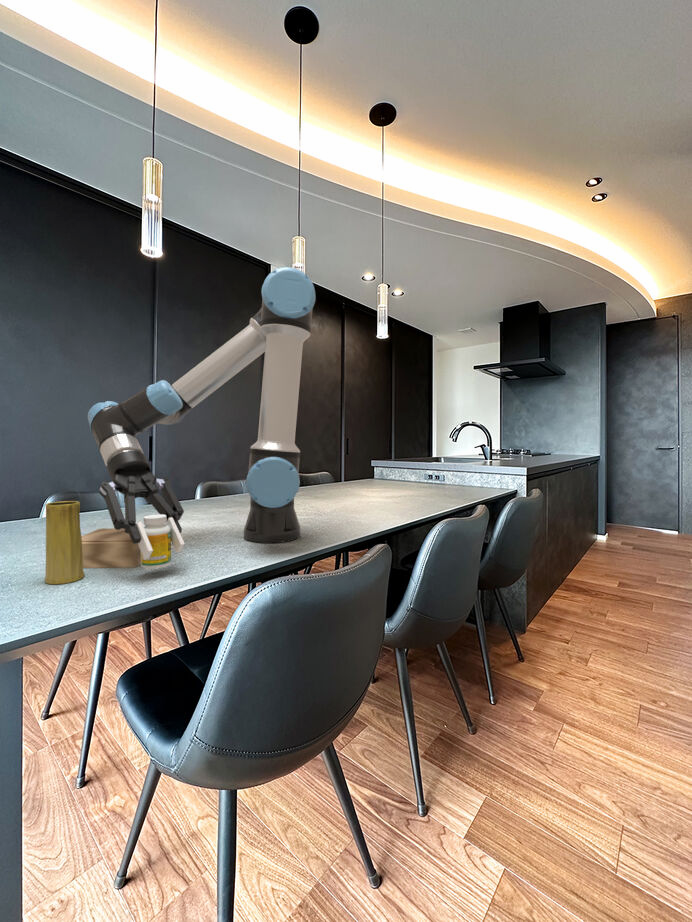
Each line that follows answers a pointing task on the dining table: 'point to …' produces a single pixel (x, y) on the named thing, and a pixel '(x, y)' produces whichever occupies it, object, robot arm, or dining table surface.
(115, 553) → the stand
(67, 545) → the vase
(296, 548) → the dining table surface
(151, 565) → the supplement bottle
